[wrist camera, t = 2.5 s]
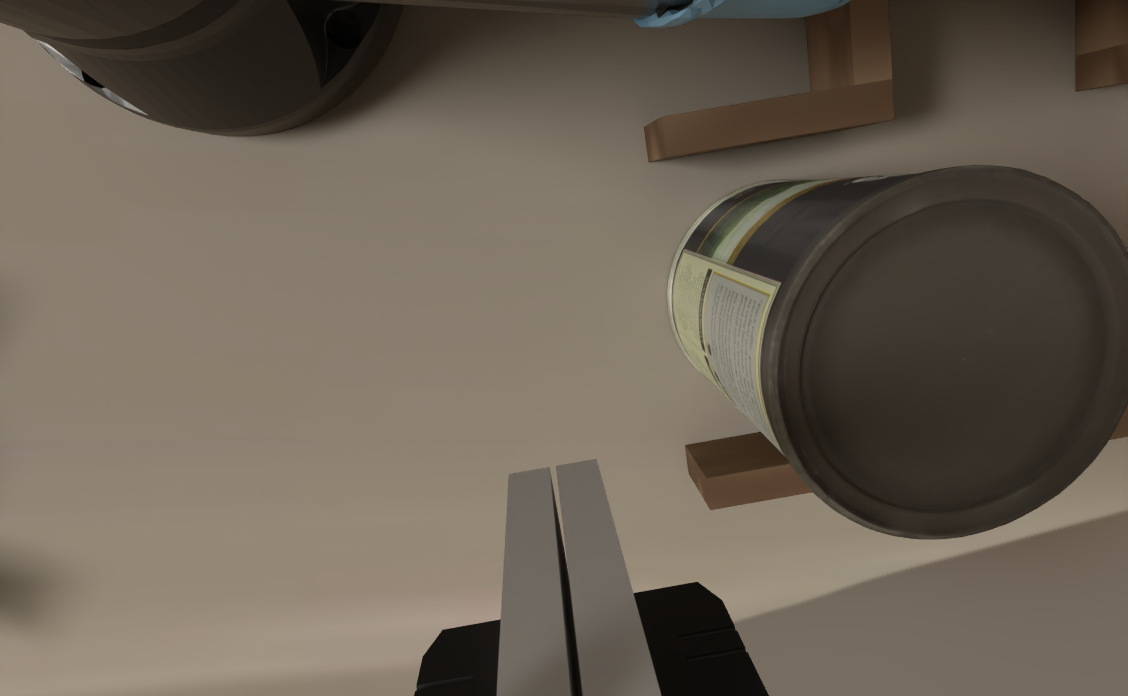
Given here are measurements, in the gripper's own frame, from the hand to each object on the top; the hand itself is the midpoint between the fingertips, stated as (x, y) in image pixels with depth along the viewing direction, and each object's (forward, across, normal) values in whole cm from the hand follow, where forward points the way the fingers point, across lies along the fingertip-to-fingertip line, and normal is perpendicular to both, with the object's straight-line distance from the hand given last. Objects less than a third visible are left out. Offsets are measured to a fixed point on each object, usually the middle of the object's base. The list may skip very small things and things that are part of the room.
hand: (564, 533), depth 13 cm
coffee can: (+20, +11, 0) cm, 22 cm away
